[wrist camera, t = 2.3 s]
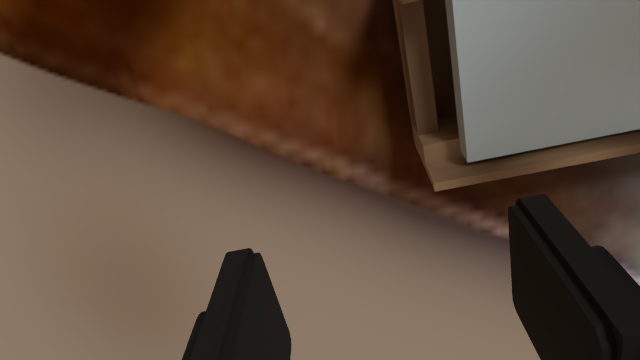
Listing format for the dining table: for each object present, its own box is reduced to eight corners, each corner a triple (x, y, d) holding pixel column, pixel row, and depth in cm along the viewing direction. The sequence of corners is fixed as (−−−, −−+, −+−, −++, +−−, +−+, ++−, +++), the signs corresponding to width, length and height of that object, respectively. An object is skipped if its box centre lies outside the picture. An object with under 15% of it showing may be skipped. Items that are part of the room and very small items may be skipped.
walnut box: (828, -151, 22) (1013, -187, 16) (778, 67, 27) (906, 101, 21) (386, -37, 25) (404, -32, 19) (413, 142, 30) (434, 191, 24)
